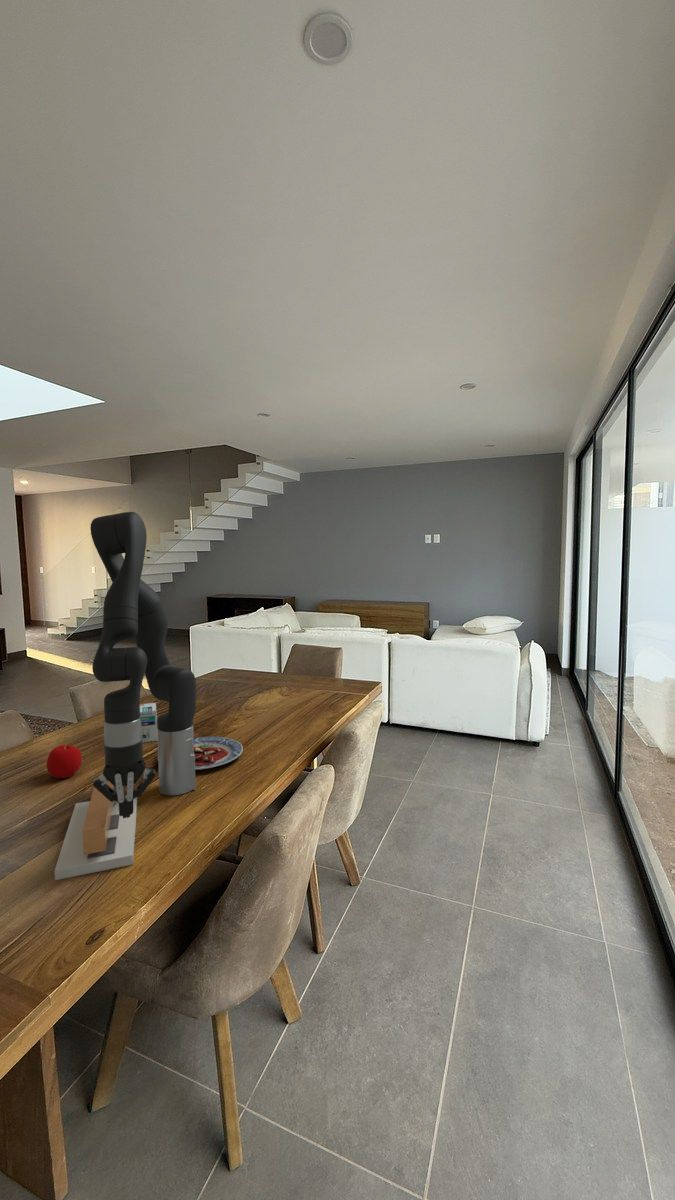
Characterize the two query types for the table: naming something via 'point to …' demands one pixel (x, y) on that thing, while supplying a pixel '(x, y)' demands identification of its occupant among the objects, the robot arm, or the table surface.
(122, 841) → the label board
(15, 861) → the table surface
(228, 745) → the ceramic plate
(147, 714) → the light bulb box
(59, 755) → the fruit
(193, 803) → the table surface
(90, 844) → the swing arm
